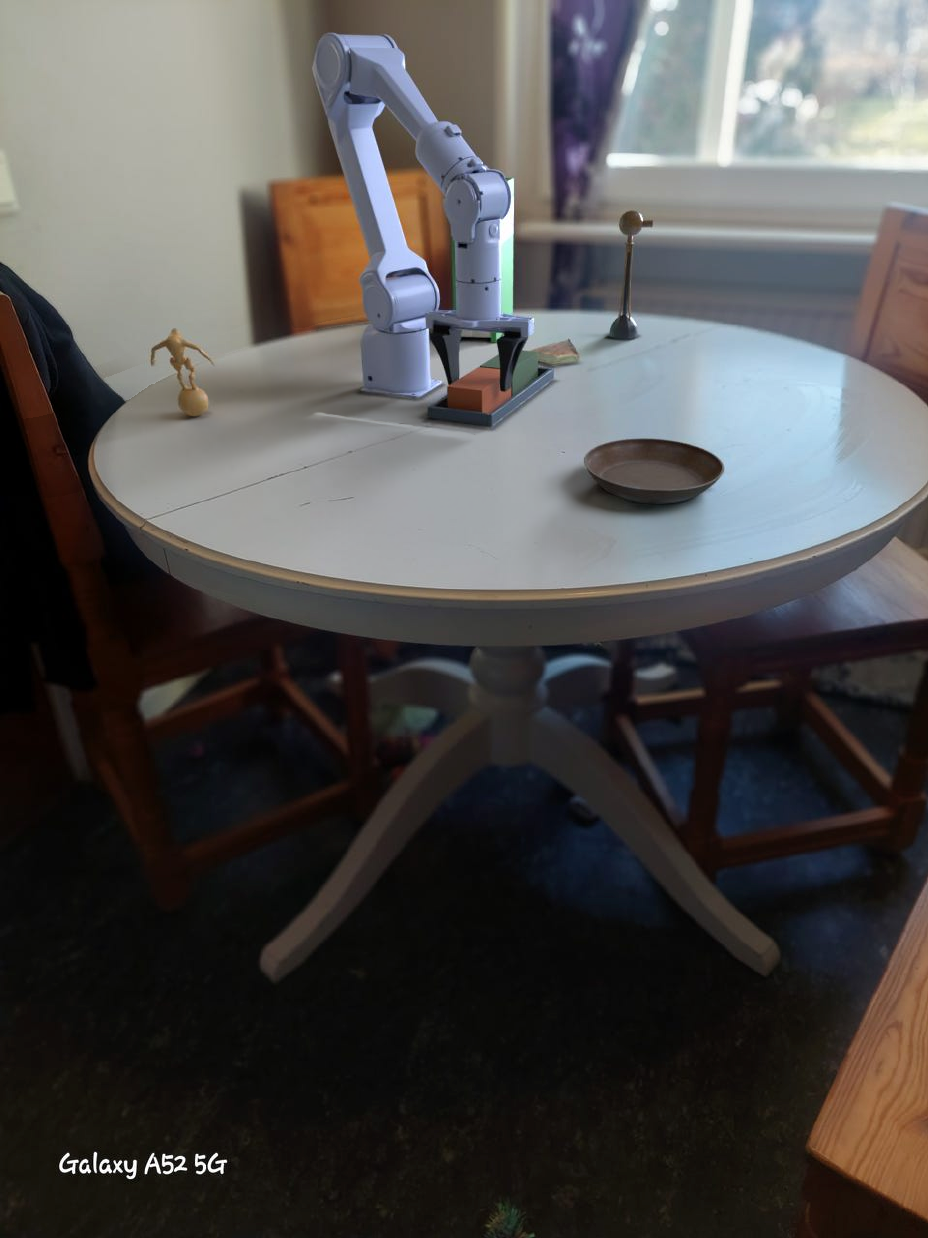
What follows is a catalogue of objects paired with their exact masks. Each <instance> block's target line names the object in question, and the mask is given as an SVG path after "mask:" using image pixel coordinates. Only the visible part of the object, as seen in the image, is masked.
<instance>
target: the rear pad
mask: <svg viewBox="0 0 928 1238" xmlns="http://www.w3.org/2000/svg"><path fill="white" fill-rule="evenodd" d="M478 367H483V368H493V369H500V360H499V353H498V354H497V355H495V356H493V357H492V358H490V359H488V360H487V361H484V362H483V363H482V364H480V365H479V366H478ZM538 367H539V361H538V352H534V351H530V350H523V349H522V352H521V354H520V356H519V359H518V361H517V364H516V367H515V371H514V374H513V378H512V384H511V397H512V396H513V395H515V394H516V393H517V392H519V391H520V390H521V389H523V388H524V387H526V386H527V385H528V384H530V383H531V382H532V381H534V380H535V379H536V378H538Z"/></svg>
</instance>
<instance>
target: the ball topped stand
mask: <svg viewBox="0 0 928 1238" xmlns="http://www.w3.org/2000/svg"><path fill="white" fill-rule="evenodd" d="M653 226H654V220H653V219H651V220H650V219H643V217H642V214H641V213H639V212H638V211H637V210H632V209H631V210H628V211H626V212H624V213H623V214H622V215H621V216H620V218H619V222H618V228H619V231H620V232H621V234H622V235H624V236H626V237H627V242H624V245H625V254H624V266H623V267H624V269H623V281H622V290H621V298H620V305H619V309H618V316H617V318H616V319H614V321H613V322H612V323H611V325H610V328H609V332H608V334H609V335H608V337H609V338H610V339H616V340H632V339H636V338H637V337H638V325H637V323H636V322H635V320H634V319H633V318H632V312H631V311H632V309H631V285H632V267H633V252H634V245H635V243H636V242H633V238H634V237H633V236H637V235H638V234H639V233H640V232H641V231H642V229H643V228H653Z"/></svg>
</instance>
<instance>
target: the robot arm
mask: <svg viewBox="0 0 928 1238" xmlns="http://www.w3.org/2000/svg"><path fill="white" fill-rule="evenodd" d="M314 53H315V55H314V59H313V63H312V67H311V71H312V74H313V77H314V81H315V83H316V87H317V91H318V94H319V96H320V101H321V104H322V106H323V109H324V114H325V116H326V117H327V122H328V128H329V131H330V134H331V138H332V141H333V143H334V147H335V150H336V154H337V157H338V159H339V163H340V167H341V170H342V173H343V176H344V179H345V182H346V183H345V184H346V185H347V189H348V192H349V195H350V200H351V202H352V205H353V209H354V212H355V215H356V220H357V221H358V225H359V228H360V232H361V235H362V237H363V241H364V244H365V248H366V250H367V255H368V257H369V261H368V263H367V265H366V266H365V268H364V269H363V271H362V273H360V276H359V278H358V281H359V284H360V287H361V291H362V307H363V311H364V315H365V317H366V319H367V321H369V323H370V325H368V326H366V327H365V329H364V330H363V332H362V335H361V338H360V360H361V372H362V382H363V383H362V386H363V387H361V388H360V391H361V392H366V393H373V394H374V393H375V394H382V395H390V396H399V397H406V398H407V397H408V398H414V399H415V398H420V397H422V396H424V395H426V394H427V393H428V392H430V391H432V390H434V389H435V388H437V387H438V386H440V385H441V384H442V383H443V381H442V380H437V379H431V357H430V356H431V355H430V353H431V352H430V342H431V343H432V345H433V347H434V348H435V350H436V353H437V354H438V356H439V359H440V362H441V364H442V368H443V370H444V373H445V377H446V381H447V386H449V385H450V384H452V383H453V382H455V381H457V380H458V379H460V346H461V340H460V338H461V332H462V330H472V331H483V332H494V333H503V335H501V337H500V338H498V339H497V342H496V348H497V352H498V354H499V360H500V391H503V392H506V391H507V390H509V389H510V388H511V384H512V378H513V374H514V371H515V367H516V364H517V361H518V359H519V356H520V354H521V352H522V350H523V349H524V347H525V345H526V343H527V341H528V339H529V337H530V336H532V335H534V332H535V331H534V330H535V318H534V317H527V316H526V317H525V316H520V315H515V314H513V315H510V314H505V313H501V220H503V219H504V218H505V217H506V216H507V214H508V212H509V210H510V206H511V190H510V186H509V184H508V182H507V180H506V179H505V178H506V176H505V174H504V173H503V172H502V171H500V170H499V169H494V168H489V167H488V166H487V164H485V165H484V163H483V161H482V160H481V158H480V157H478V156H477V155H476V154H475V152H474V151H473V150H472V148H471V147H470V146H469V144H468V143H467V141H465V139H464V138H463V136H462V133H463V132H462V130H461V129H460V127H459V125H458V124H453V123H451V122H449V121H446V120H445V121H443V120H442V121H438V119H437V117H436V116H435V114H434V113H433V111H432V110H431V108H430V106H429V104H428V102H427V101H426V100H425V98H424V97H423V95H422V93H421V92H420V90H419V88H418V87H417V86H416V84H415V82H414V81H413V79H412V77H411V76H410V75H409V73H408V71H407V70H406V57H405V54H404V52H403V51H402V50H401V49H400V48H399V47H398V45H397V44H396V42H395V40H394V38H392V36H390V35H388V34H385V33H379V34H377V35H372V34H371V35H370V34H338V33H336V32H327V33H324V34H323V35H322V36H321V37H320V39H319V40H318V43H317V46H316V48H315V52H314ZM385 107H386V109H388V110H389V112H390V113H392V115H393V116H394V117H395V118H396V120H397V121H398V122H399V123H400V124H401V126H402V127H403V128H404V129H405V130H406V131H407V132H408V134H409V135H410V136H411V137H412V138H413V140H414V141H415V142H416V143H415V157H416V159H417V161H418V162H419V163H420V165H421V166H422V167H423V169H424V170H425V171H426V173H427V174H428V176H429V177H430V178H431V180H432V181H433V182H434V184H435V185H436V186H437V188H438V189H439V190H440V192H441V193H442V194H443V196H444V198H443V199H442V206H443V210H444V214H445V217H447V219H448V220H447V221H448V222H449V225H450V237H451V238H452V237H453V241H455V268H456V310H454V309H453V310H452V309H450V310H448V309H447V310H445V309H444V310H443V309H439V307H440V303H441V302H440V300H441V297H440V291H439V287H438V284H437V283H436V280H435V279H434V278H433V276H432V275H431V274H430V272H429V269H428V266H427V262H426V260H425V259H424V258H422V257H421V256H419V255H418V254H417V253H416V252H414V251H412V250H411V249H410V248H409V247H408V245H407V242H406V237H405V234H404V230H403V227H402V223H401V221H400V217H399V213H398V210H397V207H396V203H395V200H394V197H393V193H392V190H391V187H390V183H389V180H388V177H387V173H386V170H385V167H384V163H383V160H382V156H381V153H380V149H379V147H378V143H377V140H376V136H375V133H374V130H373V124H374V121H375V119H376V118H377V117H379V116H380V115H381V114H382V112H383V110H384V108H385ZM430 329H432V332H429V331H430Z"/></svg>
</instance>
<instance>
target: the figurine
mask: <svg viewBox="0 0 928 1238" xmlns="http://www.w3.org/2000/svg"><path fill="white" fill-rule="evenodd" d="M163 348H166V349H167V350H168V352H169V354H170V355H171V356H172V357H170V358H169V362H170V365H171V366H172V367H173V369H174V371H176V372H177V374H176V379H177V380H178V383H179V385H180V386H181V387H180V388H181V390H180V391H179V394H178V396H177V404H178V408H179V409H180V410H181V412H183V413H184V414H185V415H187V416H190V417H199V416H201V415H203V414H204V413H206V411H207V410H208V407H209V402H210V401H209V397H208V394H207V393H206V391H204V389H202V388H201V387H198V385H197V384H195V383H194V379H195V372H196V371H195V370H196V367H195V366H194V364H193V363H192V359H191V358H190V357H189V356H187V357H186V358H185V350H186V348H188V349H191V350H195V351H198V353H199V354H200V355H202V356H203V358H205V359H207V360H208V361H209V362H210V363H211V365H212V366H213V367H214V366H215V364H214V362H213V360H212V358H211V357H210V356H209V355H208V354H207V353H206V352H205V351H203V349H202V348H201V347H199V346H198V345H196V344H194V343H192V342H190V341H187V340H185V339H183V337H181V335H180V331H179V330H178V329H177V328H172V329H171V331H170V334H169V335H168V337H167V338H165V339H163V340H162V341H160V342H159V343H157V344H156V345H155V344H154V346H152V348H151V349H150V352H151V354H150V366H151V367H154V366H156V363H155V362H157V361H156V360H155V358H156V351H158V350H160V349H163ZM183 366H184V368H185V370H187V371H189V372H190V373H189V375H188V379H189V384H190V385H189V386H188V385H186V384H185V383H184V381H183V374H182V368H183Z"/></svg>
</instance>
